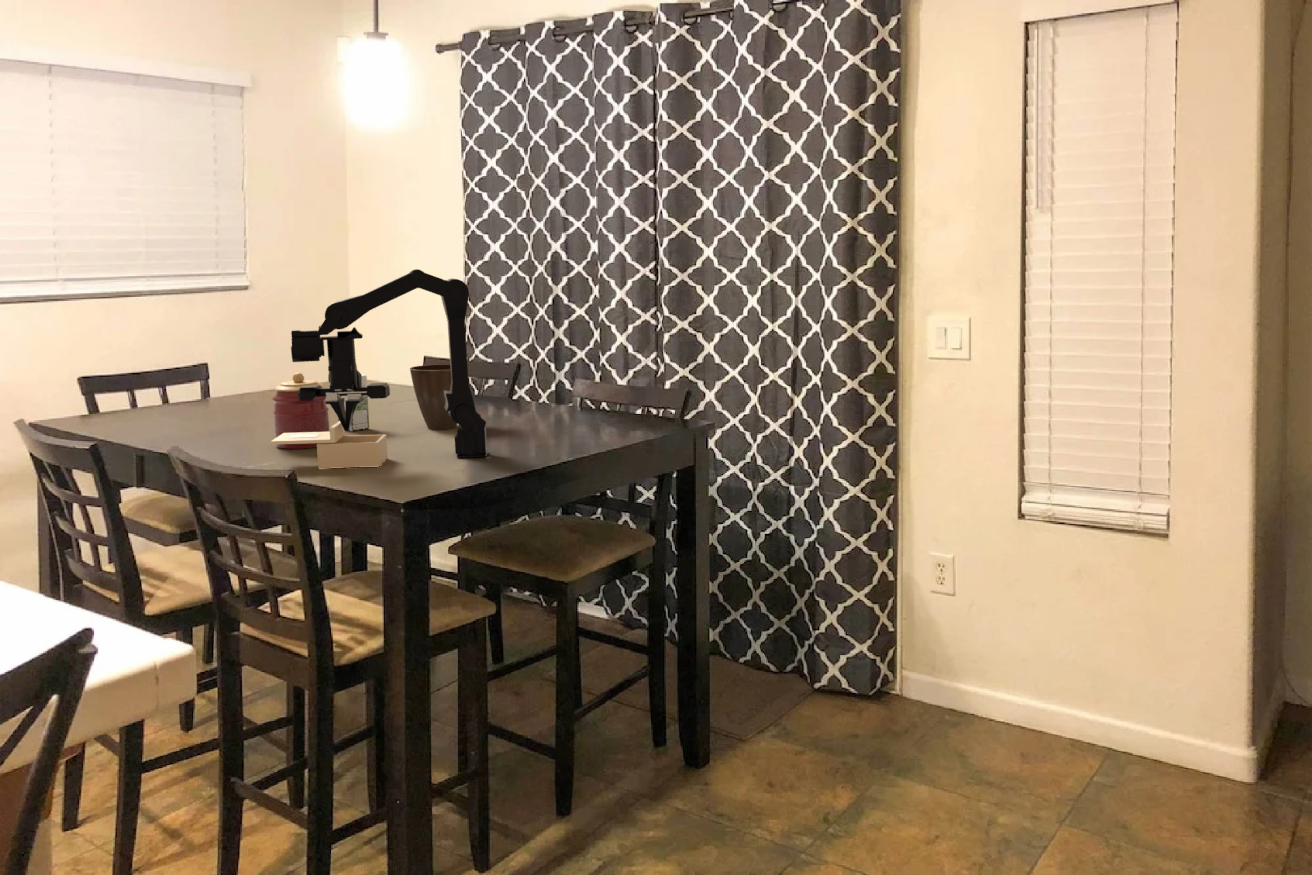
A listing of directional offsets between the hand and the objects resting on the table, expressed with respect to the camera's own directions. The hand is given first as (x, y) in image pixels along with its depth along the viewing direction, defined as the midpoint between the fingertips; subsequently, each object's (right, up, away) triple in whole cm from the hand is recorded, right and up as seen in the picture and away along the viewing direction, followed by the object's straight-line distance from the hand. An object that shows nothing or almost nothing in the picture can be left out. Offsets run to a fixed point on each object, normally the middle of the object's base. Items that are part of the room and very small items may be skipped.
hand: (347, 430), depth 241 cm
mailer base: (+1, -7, +1) cm, 7 cm away
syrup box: (-11, 0, +48) cm, 49 cm away
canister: (-18, -3, +26) cm, 32 cm away
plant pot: (+12, +1, +48) cm, 49 cm away
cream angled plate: (-8, -2, 0) cm, 9 cm away
